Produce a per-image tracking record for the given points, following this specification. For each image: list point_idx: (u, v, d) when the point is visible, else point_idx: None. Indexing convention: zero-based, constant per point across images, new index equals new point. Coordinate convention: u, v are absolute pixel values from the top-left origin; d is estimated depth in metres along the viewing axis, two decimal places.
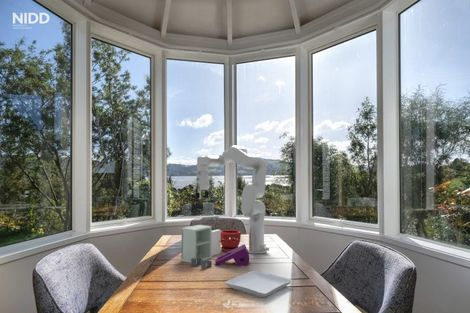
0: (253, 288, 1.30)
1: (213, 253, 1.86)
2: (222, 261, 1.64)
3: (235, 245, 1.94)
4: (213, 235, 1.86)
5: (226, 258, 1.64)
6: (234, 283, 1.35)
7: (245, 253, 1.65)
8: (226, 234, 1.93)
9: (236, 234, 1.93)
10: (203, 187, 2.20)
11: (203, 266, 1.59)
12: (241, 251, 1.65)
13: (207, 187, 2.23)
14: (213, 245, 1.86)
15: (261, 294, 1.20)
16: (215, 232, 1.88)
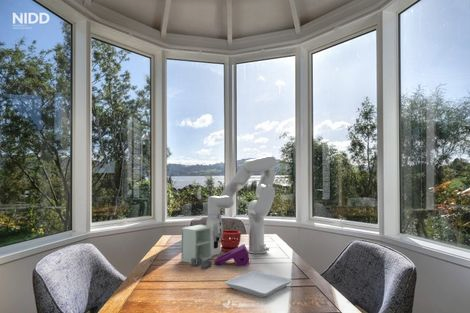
0: (253, 288, 1.30)
1: (213, 253, 1.86)
2: (222, 261, 1.64)
3: (235, 245, 1.94)
4: None
5: (226, 258, 1.64)
6: (234, 283, 1.35)
7: (245, 253, 1.65)
8: (226, 234, 1.93)
9: (236, 234, 1.93)
10: None
11: (203, 266, 1.59)
12: (241, 251, 1.65)
13: None
14: (213, 245, 1.86)
15: (261, 294, 1.20)
16: None
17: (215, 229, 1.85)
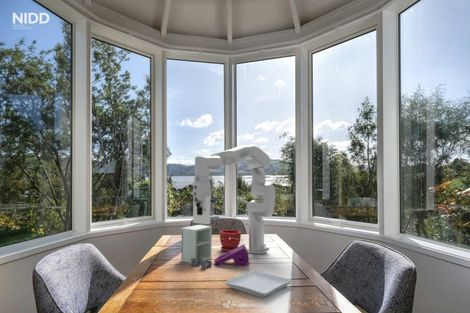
0: (253, 288, 1.30)
1: (197, 220, 1.65)
2: (221, 261, 1.64)
3: (235, 245, 1.94)
4: None
5: (225, 258, 1.64)
6: (234, 283, 1.35)
7: (245, 253, 1.64)
8: (226, 234, 1.93)
9: (236, 234, 1.93)
10: (203, 198, 1.62)
11: (203, 266, 1.59)
12: (240, 251, 1.64)
13: None
14: None
15: (261, 294, 1.20)
16: None
17: None
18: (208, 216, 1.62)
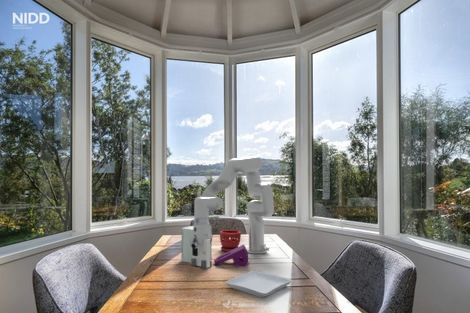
0: (253, 288, 1.30)
1: (197, 263, 1.64)
2: (221, 261, 1.64)
3: (235, 245, 1.94)
4: None
5: (225, 258, 1.64)
6: (234, 283, 1.35)
7: (244, 253, 1.64)
8: (226, 234, 1.93)
9: (236, 234, 1.93)
10: (203, 240, 1.61)
11: (203, 266, 1.59)
12: (240, 251, 1.64)
13: None
14: None
15: (261, 294, 1.20)
16: None
17: None
18: (208, 259, 1.61)
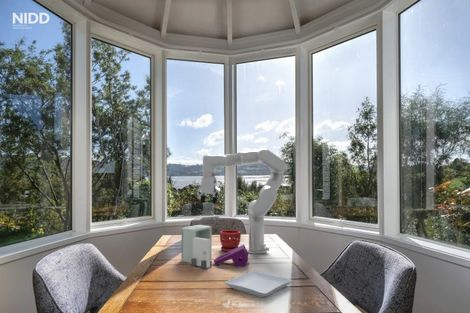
0: (253, 288, 1.30)
1: (197, 263, 1.64)
2: (220, 261, 1.64)
3: (235, 245, 1.94)
4: (197, 242, 1.64)
5: (224, 258, 1.64)
6: (234, 283, 1.35)
7: (244, 253, 1.63)
8: (226, 234, 1.93)
9: (236, 234, 1.93)
10: None
11: (203, 266, 1.59)
12: (239, 251, 1.64)
13: None
14: (197, 254, 1.64)
15: (261, 294, 1.20)
16: (199, 240, 1.63)
17: (210, 186, 1.90)
18: (208, 259, 1.61)
